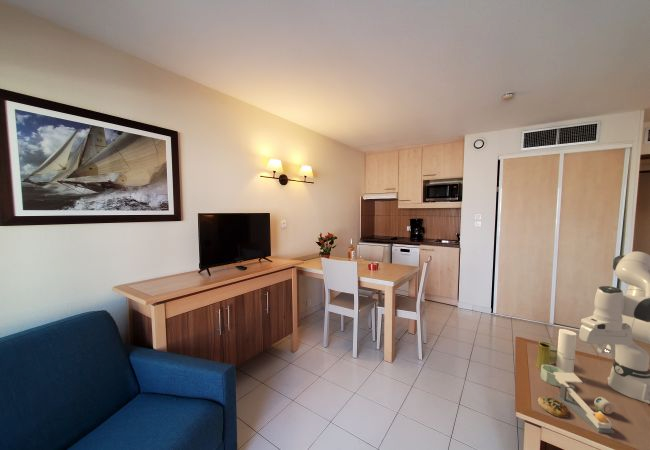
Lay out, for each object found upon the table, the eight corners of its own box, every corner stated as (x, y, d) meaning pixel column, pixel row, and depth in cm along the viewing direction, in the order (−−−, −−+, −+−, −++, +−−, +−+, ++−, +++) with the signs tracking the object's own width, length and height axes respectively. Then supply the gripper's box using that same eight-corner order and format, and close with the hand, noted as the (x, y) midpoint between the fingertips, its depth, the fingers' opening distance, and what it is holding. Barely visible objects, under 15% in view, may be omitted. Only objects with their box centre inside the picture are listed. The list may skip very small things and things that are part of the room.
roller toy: (591, 406, 119) (592, 395, 119) (605, 407, 119) (606, 395, 119) (601, 414, 115) (602, 402, 114) (615, 415, 115) (616, 403, 114)
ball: (599, 418, 109) (601, 411, 109) (608, 425, 106) (610, 418, 105) (591, 417, 109) (593, 410, 109) (600, 425, 106) (601, 418, 105)
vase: (552, 372, 145) (554, 348, 144) (540, 370, 146) (541, 347, 145) (545, 365, 151) (546, 343, 150) (533, 364, 152) (535, 341, 151)
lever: (547, 373, 130) (549, 369, 129) (572, 374, 130) (574, 370, 129) (597, 428, 106) (600, 423, 105) (628, 429, 106) (631, 425, 105)
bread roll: (571, 410, 117) (571, 400, 116) (566, 425, 110) (566, 415, 110) (540, 396, 126) (540, 387, 125) (534, 410, 119) (534, 400, 118)
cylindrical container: (561, 369, 148) (564, 328, 146) (576, 377, 141) (579, 334, 139) (552, 371, 146) (555, 329, 144) (567, 379, 139) (570, 335, 137)
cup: (553, 375, 142) (554, 365, 142) (569, 387, 133) (570, 376, 132) (536, 374, 142) (536, 364, 142) (551, 386, 133) (551, 375, 132)
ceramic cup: (550, 367, 150) (552, 350, 149) (533, 357, 159) (534, 342, 159) (566, 364, 153) (567, 348, 152) (548, 355, 163) (549, 340, 162)
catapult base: (556, 396, 125) (557, 381, 125) (568, 397, 125) (569, 382, 125) (598, 432, 105) (600, 414, 105) (613, 432, 105) (615, 414, 105)
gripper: (622, 320, 116) (619, 349, 117) (577, 319, 116) (575, 347, 117) (639, 326, 109) (636, 357, 110) (591, 325, 110) (588, 355, 111)
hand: (604, 352), depth 114 cm, fingers closed
